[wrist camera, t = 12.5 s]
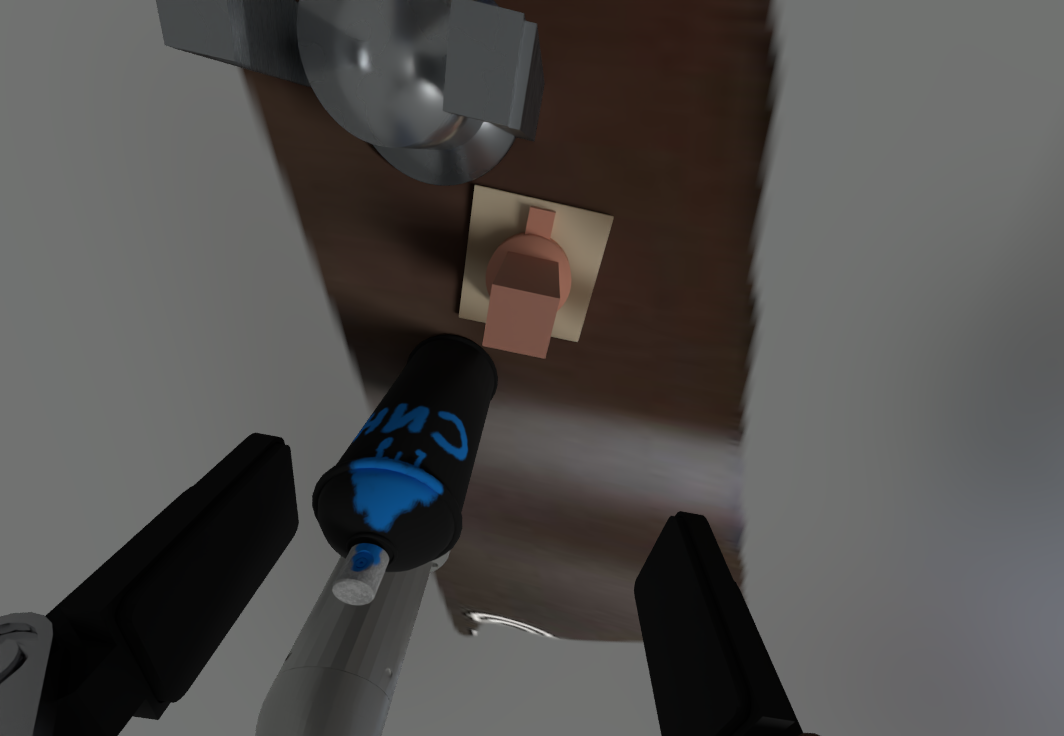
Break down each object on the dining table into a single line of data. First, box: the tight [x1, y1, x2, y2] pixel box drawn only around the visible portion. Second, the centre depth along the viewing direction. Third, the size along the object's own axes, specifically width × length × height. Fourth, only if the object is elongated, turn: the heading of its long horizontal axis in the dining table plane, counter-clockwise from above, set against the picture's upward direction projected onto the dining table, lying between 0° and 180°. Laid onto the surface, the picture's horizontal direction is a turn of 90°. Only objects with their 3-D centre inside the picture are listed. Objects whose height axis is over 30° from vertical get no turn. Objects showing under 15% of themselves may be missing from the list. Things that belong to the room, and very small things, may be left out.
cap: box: [482, 206, 572, 359], centre depth 25 cm, size 10×6×10 cm, turn 168°
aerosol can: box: [312, 335, 498, 605], centre depth 26 cm, size 8×8×20 cm
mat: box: [459, 185, 614, 342], centre depth 30 cm, size 10×10×1 cm
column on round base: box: [156, 0, 545, 185], centre depth 19 cm, size 13×11×14 cm
